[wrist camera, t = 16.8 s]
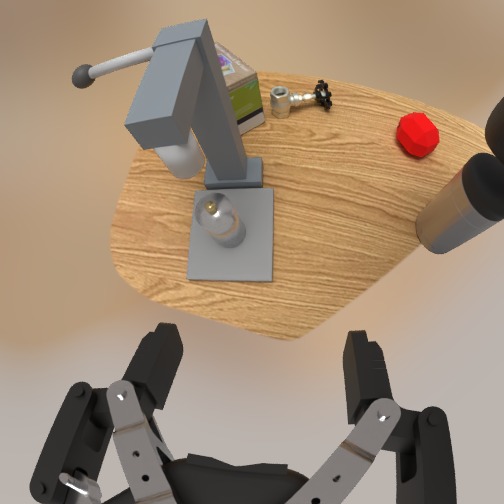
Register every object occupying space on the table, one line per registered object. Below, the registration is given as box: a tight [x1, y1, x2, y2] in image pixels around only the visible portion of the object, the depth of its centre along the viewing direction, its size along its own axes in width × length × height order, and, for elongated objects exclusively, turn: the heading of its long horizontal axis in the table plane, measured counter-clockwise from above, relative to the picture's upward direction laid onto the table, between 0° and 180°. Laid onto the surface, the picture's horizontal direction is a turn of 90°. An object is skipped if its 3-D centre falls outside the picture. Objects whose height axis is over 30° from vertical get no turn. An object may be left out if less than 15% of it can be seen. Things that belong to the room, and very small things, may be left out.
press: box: [72, 19, 274, 282], centre depth 35 cm, size 22×22×32 cm
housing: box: [195, 193, 246, 248], centre depth 42 cm, size 5×5×12 cm
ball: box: [397, 112, 439, 157], centre depth 45 cm, size 8×8×8 cm
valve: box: [270, 80, 332, 119], centre depth 51 cm, size 7×7×12 cm
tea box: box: [214, 42, 265, 135], centre depth 49 cm, size 15×10×15 cm
